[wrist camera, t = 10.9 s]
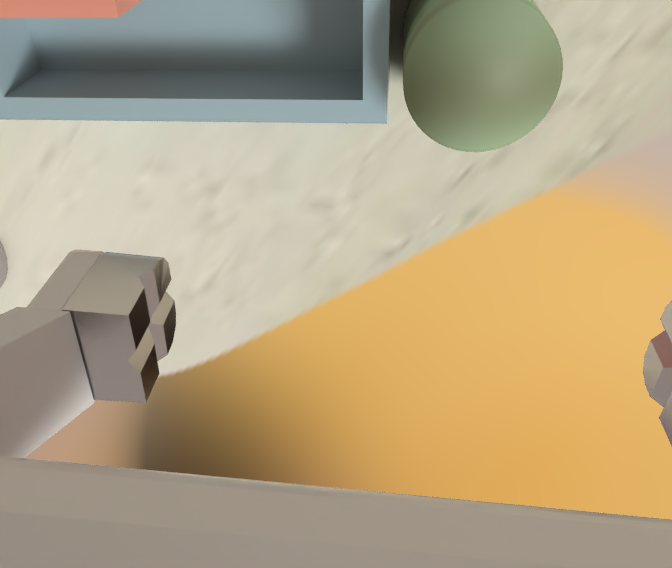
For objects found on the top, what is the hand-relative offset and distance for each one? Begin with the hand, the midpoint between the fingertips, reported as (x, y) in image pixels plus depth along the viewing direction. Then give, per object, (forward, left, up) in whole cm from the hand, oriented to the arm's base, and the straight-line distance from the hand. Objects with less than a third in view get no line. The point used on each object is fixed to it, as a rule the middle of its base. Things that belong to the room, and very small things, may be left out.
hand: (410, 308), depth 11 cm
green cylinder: (0, +2, -16) cm, 16 cm away
